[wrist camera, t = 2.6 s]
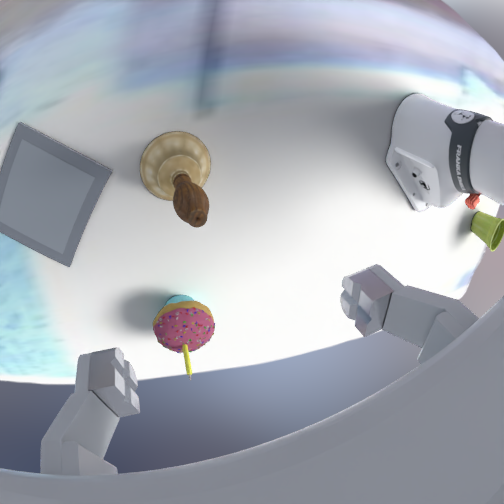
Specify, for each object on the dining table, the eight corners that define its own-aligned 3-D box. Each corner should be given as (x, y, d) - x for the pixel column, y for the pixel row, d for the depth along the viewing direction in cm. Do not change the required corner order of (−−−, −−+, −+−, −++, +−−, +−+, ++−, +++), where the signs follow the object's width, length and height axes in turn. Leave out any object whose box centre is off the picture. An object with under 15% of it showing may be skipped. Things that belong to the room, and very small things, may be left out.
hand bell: (205, 124, 30) (248, 143, 17) (214, 191, 34) (260, 256, 21) (133, 140, 28) (114, 173, 15) (148, 207, 32) (149, 285, 19)
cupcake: (201, 328, 44) (219, 388, 34) (149, 326, 41) (155, 389, 31) (213, 285, 41) (236, 346, 31) (154, 280, 37) (161, 344, 28)
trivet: (112, 170, 29) (111, 171, 28) (70, 265, 32) (69, 267, 31) (20, 122, 21) (18, 122, 21) (-11, 222, 25) (-13, 224, 24)
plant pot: (464, 228, 58) (488, 244, 51) (479, 199, 55) (504, 213, 48) (471, 241, 63) (492, 256, 56) (485, 214, 60) (507, 227, 53)
